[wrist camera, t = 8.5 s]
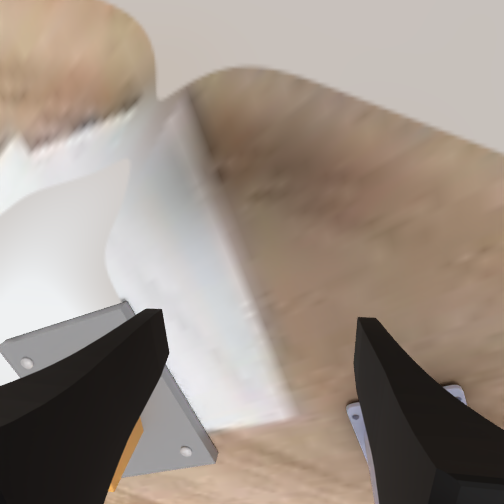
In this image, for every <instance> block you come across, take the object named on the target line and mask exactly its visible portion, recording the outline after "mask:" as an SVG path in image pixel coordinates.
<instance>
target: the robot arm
mask: <svg viewBox="0 0 504 504" xmlns="http://www.w3.org/2000/svg"><path fill="white" fill-rule="evenodd" d="M168 355H169V348H168V342H167V336H166V330H165V324H164V319H163V313H162V309H145V310H143V311H141V312H140V313H138V314H137V315H135V316H133V317H132V318H130V319H129V320H127V321H126V322H124V323H123V324H121V325H120V326H118V327H116V328H115V329H113V330H112V331H110V332H109V333H107V334H106V335H104V336H102V337H101V338H99V339H97V340H96V341H94V342H92V343H91V344H89V345H87V346H86V347H84V348H82V349H81V350H79V351H77V352H75V353H74V354H72V355H70V356H68V357H66V358H64V359H62V360H60V361H58V362H56V363H54V364H52V365H50V366H48V367H46V368H44V369H41V370H39V371H37V372H34V373H32V374H29V375H27V376H25V377H22V378H20V379H18V380H15V381H13V382H10V383H7V384H5V385H2V386H0V504H104V501H105V498H106V495H107V493H108V490H109V487H110V485H111V482H112V479H113V477H114V474H115V471H116V469H117V466H118V464H119V461H120V459H121V456H122V454H123V451H124V449H125V446H126V444H127V441H128V439H129V437H130V435H131V433H132V431H133V429H134V427H135V425H136V423H137V421H138V419H139V417H140V416H141V414H142V412H143V410H144V408H145V406H146V404H147V402H148V400H149V399H150V397H151V395H152V393H153V391H154V389H155V387H156V385H157V383H158V381H159V379H160V377H161V375H162V372H163V369H164V367H165V364H166V361H167V358H168ZM354 372H355V381H356V390H357V394H358V399H359V402H357V403H351V404H349V405H347V407H346V409H347V414H348V417H349V419H350V422H351V424H352V426H353V429H354V431H355V434H356V436H357V439H358V441H359V444H360V446H361V448H362V451H363V453H364V456H365V458H366V461H367V463H368V466H369V472H370V478H371V484H372V490H373V496H374V502H375V504H504V430H503V429H501V428H500V427H498V426H496V425H495V424H493V423H492V422H490V421H489V420H487V419H485V418H484V417H483V416H481V415H480V414H478V413H477V412H475V411H474V410H472V409H471V408H470V407H468V406H467V403H466V399H465V395H464V392H463V390H462V388H461V387H460V386H459V385H449V386H444V387H442V386H441V385H440V384H438V383H437V382H436V381H435V380H434V379H433V378H431V377H430V376H429V375H428V374H427V373H426V372H425V371H424V370H423V369H422V368H421V367H420V366H419V365H418V364H417V363H416V362H415V361H414V360H413V359H412V358H411V357H410V356H409V355H408V354H407V353H406V352H405V351H404V350H403V349H402V348H401V347H400V345H399V344H398V343H397V342H396V341H395V340H394V339H393V337H392V336H391V335H390V334H389V333H388V332H387V330H386V329H385V328H384V327H383V325H382V324H381V323H380V322H379V321H378V320H377V319H376V318H366V317H358V319H357V331H356V342H355V353H354ZM456 397H457V398H456ZM355 414H356V415H355Z"/></svg>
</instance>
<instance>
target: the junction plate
mask: <svg viewBox="0 0 504 504" xmlns="http://www.w3.org/2000/svg"><path fill="white" fill-rule="evenodd" d="M133 316H135V314H134V312H133V311H132V309H131V307H130V306H129V304H128V302H127V301H126V302H123V303H120V304H117V305H114V306H110V307H107V308H104V309H101V310H98V311H95V312H92V313H89V314H85V315H83V316H79V317H76V318H73V319H70V320H67V321H63V322H60V323H57V324H54V325H51V326H48V327H45V328H42V329H38V330H35V331H32V332H29V333H26V334H23V335H20V336H16V337H13V338H11V339H7V340H5V341H4V342H3V343H2V344H0V353H1V354H2V355H3V357H4V358H5V359H6V360H7V362H8V363H9V364H10V365H11V367H12V368H13V369H14V370H15V372H16V373H17V374H18V376H19V377H20V378H22V377H25V376H27V375H29V374H32V373H34V372H37V371H39V370H41V369H44V368H46V367H48V366H50V365H52V364H54V363H56V362H58V361H60V360H62V359H64V358H66V357H68V356H70V355H72V354H74V353H75V352H77V351H79V350H81V349H82V348H84V347H86V346H87V345H89V344H91V343H92V342H94V341H96V340H97V339H99V338H101V337H102V336H104V335H106V334H107V333H109V332H110V331H112V330H113V329H115V328H116V327H118V326H120V325H121V324H123V323H124V322H126V321H127V320H129V319H130V318H132V317H133ZM140 418H141V422H142V426H143V430H144V431H143V433H142V436H141V438H140V440H139V442H138V444H137V446H136V448H135V450H134V452H133V454H132V456H131V458H130V460H129V462H128V464H127V466H126V468H125V471H124V473H123V475H122V477H121V478H124V477H130V476H137V475H143V474H150V473H156V472H163V471H170V470H176V469H183V468H189V467H196V466H202V465H209V464H215V463H216V459H217V455H218V451H217V450H216V448H215V447H214V445H213V443H212V442H211V440H210V438H209V437H208V435H207V433H206V432H205V430H204V428H203V427H202V425H201V423H200V422H199V420H198V418H197V417H196V415H195V413H194V412H193V410H192V408H191V407H190V405H189V403H188V402H187V400H186V398H185V397H184V395H183V393H182V392H181V390H180V388H179V387H178V385H177V384H176V382H175V380H174V379H173V377H172V375H171V374H170V372H169V370H168V369H167V367H166V365H165V367H164V369H163V372H162V375H161V377H160V379H159V381H158V383H157V385H156V387H155V389H154V391H153V393H152V395H151V397H150V399H149V400H148V402H147V404H146V406H145V408H144V410H143V412H142V414H141V416H140Z"/></svg>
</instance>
